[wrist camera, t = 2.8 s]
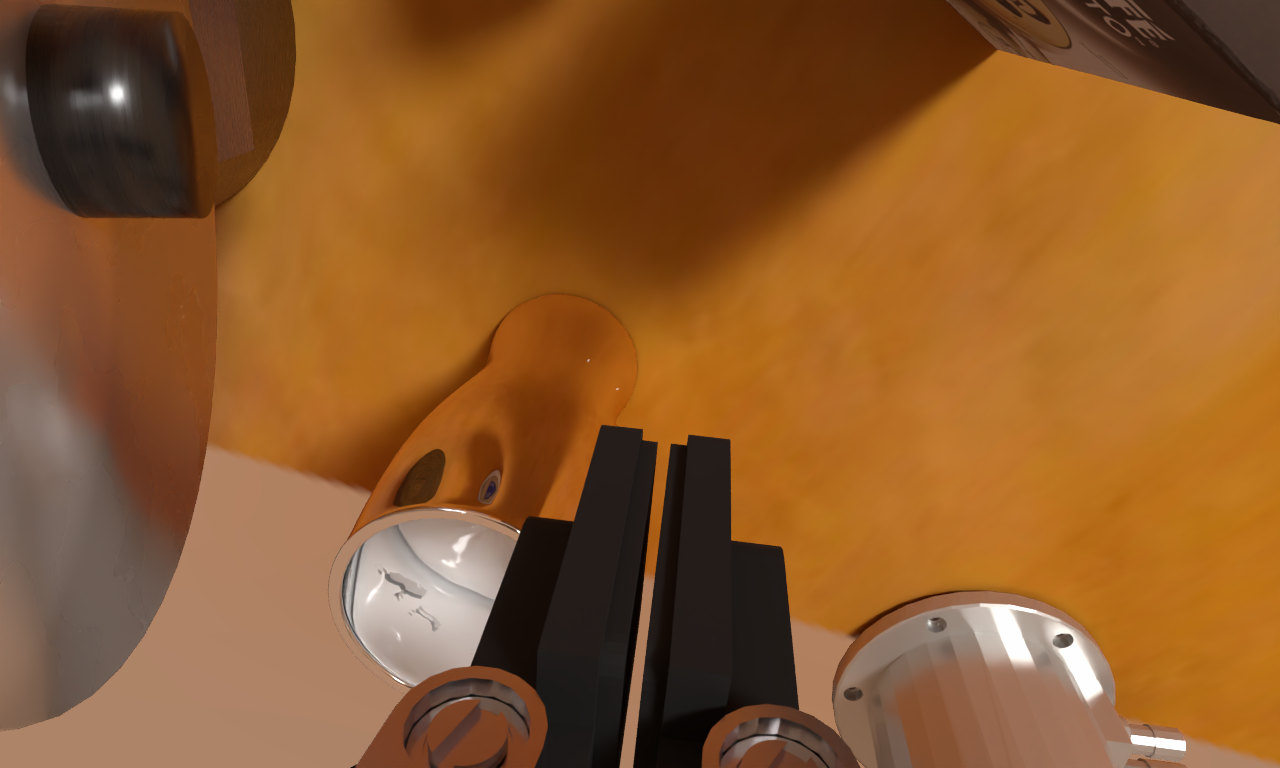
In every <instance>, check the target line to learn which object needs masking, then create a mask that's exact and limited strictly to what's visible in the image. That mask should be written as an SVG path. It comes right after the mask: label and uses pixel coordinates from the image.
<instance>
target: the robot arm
mask: <svg viewBox="0 0 1280 768" xmlns="http://www.w3.org/2000/svg"><path fill="white" fill-rule="evenodd" d="M642 437H643V429H635V428H627V427H618V426H609V425H601V427H600V430H599V434H598V437H597V441H596V444H595V448H594V451H593V455H592V459H591V462H590V466H589V469H588V473H587V476H586V480H585V483H584V487H583V490H582V494H581V498H580V501H579V505H578V508H577V512H576V515H575V519H574V521H567V520H559V519H550V518H542V517H534V516H529V517H527V518H526V520H525V522H524V524H523V526H522V529H521V532H520V534H519V537H518V540H517V543H516V545H515V548H514V551H513V553H512V556H511V559H510V561H509V564H508V567H507V569H506V572H505V575H504V577H503V580H502V583H501V585H500V588H499V591H498V593H497V596H496V599H495V602H494V604H493V607H492V610H491V612H490V615H489V618H488V620H487V623H486V626H485V628H484V631H483V634H482V636H481V639H480V642H479V644H478V647H477V650H476V652H475V655H474V658H473V661H472V663H471V666H469V667H461V668H453V669H450V670H447V671H444V672H441V673H438V674H436V675H433V676H430V677H429V678H427V679H426V680H424V681H423V682H421V683H419V684H418V685H416V686H415V687H413V688H412V689H410V690H409V692H408V693H407V694H406V695H405V696H404V697H403V698H402V700H401V701H400V702H399V703H398V704H397V705H396V706H395V708H394V709H393V711H392V712H391V714H390V715H389V717H388V718H387V720H386V721H385V723H384V724H383V726H382V727H381V729H380V730H379V732H378V733H377V735H376V737H375V738H374V740H373V741H372V743H371V744H370V746H369V747H368V749H367V750H366V752H365V753H364V755H363V756H362V758H361V759H360V761H359V762H358V764H357V765H355V766H353V767H351V768H619V767H620V759H621V751H622V744H623V737H624V730H625V723H626V715H627V708H628V700H629V693H630V685H631V678H632V671H633V664H634V657H635V649H636V641H637V634H638V627H639V619H640V611H641V602H642V592H643V582H644V573H645V563H646V553H647V543H648V534H649V524H650V514H651V505H652V495H653V485H654V475H655V466H656V456H657V445H658V442H652V441H643V440H642ZM832 702H833V708H834V715H835V722H836V725H837V728H838V731H839V733H840V736H841V738H840V736H839V735H838V734H837V733H836V732H835V731H834V730H833V729H831V728H830V727H828V726H827V725H825V724H824V723H823V722H821V721H820V720H818V719H817V718H815V717H814V716H811V715H809V714H806V713H804V712H801V711H799V705H798V695H797V684H796V674H795V664H794V654H793V644H792V634H791V623H790V613H789V603H788V593H787V583H786V573H785V562H784V555H783V550H782V548H781V547H779V546H771V545H763V544H755V543H746V542H738V541H731V457H730V439H721V438H713V437H704V436H695V435H688V442H687V446H686V445H678V444H671V448H670V456H669V465H668V473H667V481H666V490H665V498H664V506H663V515H662V523H661V531H660V540H659V548H658V556H657V564H656V573H655V581H654V589H653V598H652V606H651V615H650V623H649V631H648V640H647V649H646V656H645V665H644V674H643V683H642V692H641V701H640V710H639V720H638V728H637V737H636V746H635V755H634V765H633V768H860V766H859V764H858V762H857V760H858V761H859V762H860V763H861V764H862V765H863V766H865V767H866V768H1187V767H1186V766H1185V765H1182V764H1179V763H1172V762H1165V761H1157V760H1150V759H1142V758H1139V759H1138V760H1131V759H1128V758H1129V757H1130V755H1131V754H1139V755H1145V756H1146V757H1150V758H1157V759H1165V760H1173V761H1181V760H1182V759H1183V758H1184V755H1185V751H1186V748H1185V740H1184V738H1183V735H1182V733H1181V732H1180V731H1179V730H1178V729H1177V728H1169V727H1162V726H1154V725H1146V724H1143V725H1134V724H1128V722H1127V721H1126V719H1125V718H1123V717H1122V716H1120V715H1118V714H1117V712H1116V711H1115V709H1114V705H1115V682H1114V679H1113V675H1112V672H1111V669H1110V666H1109V664H1108V662H1107V660H1106V658H1105V656H1104V655H1103V653H1102V651H1101V649H1100V647H1099V646H1098V644H1097V642H1096V641H1095V640H1094V639H1093V638H1092V636H1091V635H1090V634H1089V633H1088V632H1087V630H1086V629H1085V628H1084V627H1083V626H1082V625H1081V624H1079V623H1078V622H1077V621H1075V620H1074V619H1073V618H1071V617H1070V616H1069V615H1067V614H1066V613H1065V612H1062V611H1060V610H1058V609H1056V608H1054V607H1052V606H1050V605H1048V604H1046V603H1044V602H1041V601H1038V600H1034V599H1031V598H1027V597H1024V596H1020V595H1017V594H1009V593H1000V592H992V591H973V592H957V593H951V594H945V595H939V596H933V597H930V598H927V599H924V600H921V601H917V602H914V603H911V604H908V605H906V606H904V607H902V608H900V609H898V610H896V611H894V612H892V613H890V614H888V615H886V616H884V617H882V618H881V619H880V620H878V621H877V622H876V623H874V624H873V625H871V626H870V627H869V628H867V629H866V630H865V631H864V632H863V633H862V634H861V635H860V636H859V637H858V638H857V639H856V640H855V641H854V642H853V643H852V644H851V645H850V647H849V648H848V650H847V651H846V653H845V655H844V656H843V658H842V659H841V661H840V663H839V665H838V668H837V671H836V674H835V677H834V680H833V692H832ZM856 759H857V760H856Z"/></svg>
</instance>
